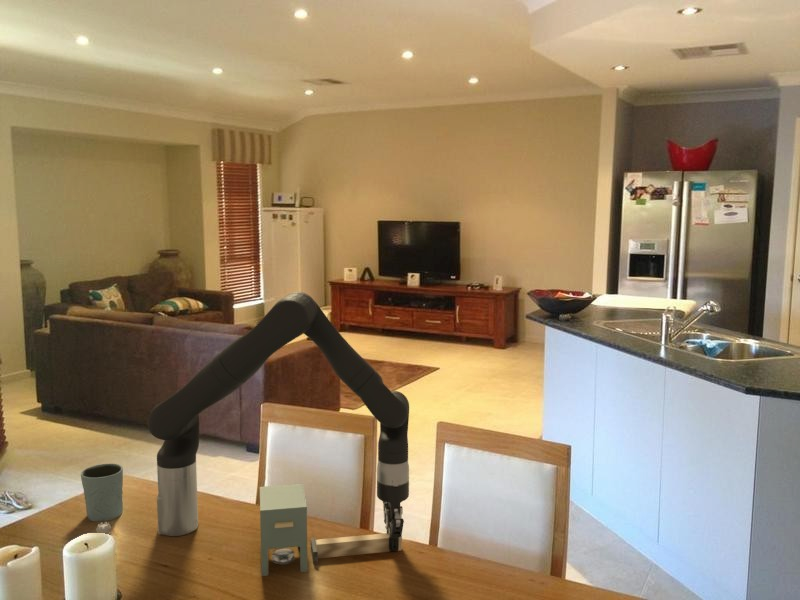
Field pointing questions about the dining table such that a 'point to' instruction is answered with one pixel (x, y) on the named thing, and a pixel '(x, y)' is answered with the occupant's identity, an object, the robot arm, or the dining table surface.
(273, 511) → the cabinet
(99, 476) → the grey green cup
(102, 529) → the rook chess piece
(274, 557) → the steel token
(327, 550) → the beige bar
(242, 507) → the dining table surface
